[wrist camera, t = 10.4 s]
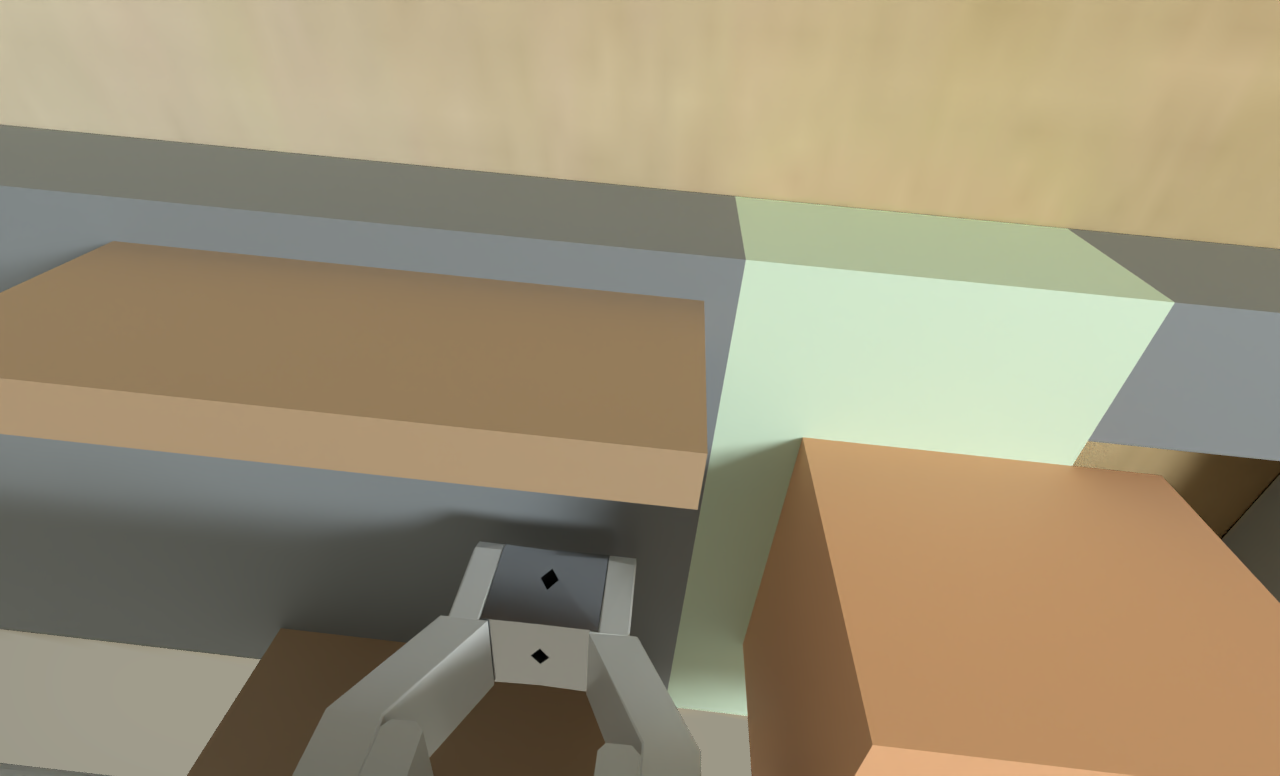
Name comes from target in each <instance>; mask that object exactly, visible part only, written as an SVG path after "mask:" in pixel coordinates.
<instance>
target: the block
mask: <svg viewBox="0 0 1280 776" xmlns="http://www.w3.org/2000/svg"><path fill="white" fill-rule="evenodd" d="M743 654H744V669H745V684H746V699H747V713H748V727H749V742H750V757H751V772H752V776H1280V603H1279V602H1278V601H1277V600H1276V598H1275V597H1274V596H1273V595H1272V594H1271V593H1270V592H1269V591H1268V590H1267V589H1266V588H1265V587H1264V585H1263V584H1262V583H1261V582H1260V581H1259V580H1258V579H1257V578H1256V577H1255V576H1254V575H1253V574H1252V573H1251V571H1250V570H1249V569H1248V568H1247V567H1246V566H1245V565H1244V564H1243V563H1242V562H1241V561H1240V560H1239V558H1238V557H1237V556H1236V555H1235V554H1234V553H1233V552H1232V551H1231V550H1230V549H1229V548H1228V547H1227V546H1226V544H1225V543H1224V542H1223V541H1222V540H1221V539H1220V538H1219V537H1218V536H1217V535H1216V534H1215V533H1214V531H1213V530H1212V529H1211V528H1210V527H1209V526H1208V525H1207V524H1206V523H1205V522H1204V521H1203V520H1202V519H1201V517H1200V516H1199V515H1198V514H1197V513H1196V512H1195V511H1194V510H1193V509H1192V508H1191V507H1190V506H1189V504H1188V503H1187V502H1186V501H1185V500H1184V499H1183V498H1182V497H1181V496H1180V495H1179V494H1178V493H1177V492H1176V490H1175V489H1174V488H1173V487H1172V486H1171V485H1170V484H1169V483H1168V482H1167V481H1166V480H1165V479H1164V477H1163V476H1162V475H1153V474H1144V473H1134V472H1125V471H1115V470H1106V469H1097V468H1087V467H1078V466H1068V465H1059V464H1050V463H1040V462H1031V461H1021V460H1012V459H1002V458H993V457H984V456H974V455H965V454H955V453H946V452H937V451H927V450H918V449H908V448H899V447H890V446H880V445H871V444H861V443H852V442H843V441H833V440H824V439H814V438H805V437H803V438H802V441H801V445H800V448H799V452H798V455H797V459H796V462H795V466H794V469H793V472H792V476H791V479H790V483H789V486H788V490H787V493H786V497H785V500H784V504H783V507H782V510H781V514H780V517H779V521H778V524H777V528H776V531H775V535H774V538H773V542H772V545H771V549H770V552H769V555H768V559H767V562H766V566H765V569H764V573H763V576H762V580H761V583H760V587H759V590H758V594H757V597H756V600H755V604H754V607H753V611H752V614H751V618H750V621H749V625H748V628H747V632H746V635H745V639H744V642H743Z"/></svg>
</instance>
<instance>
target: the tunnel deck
mask: <svg viewBox="0 0 1280 776" xmlns="http://www.w3.org/2000/svg"><path fill="white" fill-rule="evenodd" d="M803 437H805V438H814V439H824V440H833V441H843V442H852V443H861V444H871V445H880V446H890V447H899V448H908V449H918V450H927V451H937V452H946V453H955V454H965V455H974V456H984V457H993V458H1002V459H1012V460H1021V461H1031V462H1040V463H1050V464H1059V465H1068V466H1072V465H1073V463H1074V462H1075V460H1076V459H1077V457H1078V455H1079V454H1080V452H1081V451H1082V449H1083V448H1084V446H1085V444H1086V443H1087V441H1093V442H1102V443H1112V444H1121V445H1131V446H1141V447H1150V448H1160V449H1169V450H1179V451H1188V452H1198V453H1207V454H1217V455H1226V456H1236V457H1245V458H1255V459H1264V460H1274V461H1280V249H1273V248H1262V247H1252V246H1242V245H1232V244H1221V243H1211V242H1201V241H1190V240H1180V239H1170V238H1160V237H1149V236H1139V235H1129V234H1118V233H1108V232H1098V231H1088V230H1077V229H1067V228H1057V227H1046V226H1036V225H1026V224H1016V223H1005V222H995V221H985V220H974V219H964V218H954V217H944V216H933V215H923V214H913V213H902V212H892V211H882V210H872V209H861V208H851V207H841V206H830V205H820V204H810V203H800V202H789V201H779V200H769V199H758V198H748V197H738V196H728V195H717V194H707V193H697V192H686V191H676V190H666V189H656V188H645V187H635V186H625V185H614V184H604V183H594V182H583V181H573V180H563V179H553V178H542V177H532V176H522V175H511V174H501V173H491V172H481V171H470V170H460V169H450V168H439V167H429V166H419V165H409V164H398V163H388V162H378V161H367V160H357V159H347V158H337V157H326V156H316V155H306V154H295V153H285V152H275V151H265V150H254V149H244V148H234V147H223V146H213V145H203V144H193V143H182V142H172V141H162V140H151V139H141V138H131V137H121V136H110V135H100V134H90V133H79V132H69V131H59V130H49V129H38V128H28V127H18V126H7V125H0V629H5V630H14V631H22V632H31V633H40V634H48V635H57V636H65V637H74V638H83V639H91V640H100V641H108V642H117V643H126V644H134V645H143V646H151V647H160V648H168V649H177V650H186V651H194V652H203V653H211V654H220V655H229V656H237V657H246V658H254V659H261V660H260V661H259V663H258V665H257V666H256V668H255V669H254V671H253V672H252V674H251V676H250V677H249V679H248V681H247V682H246V684H245V685H244V687H243V688H242V690H241V691H240V693H239V695H238V696H237V698H236V699H235V701H234V702H233V704H232V705H231V707H230V709H229V710H228V712H227V713H226V715H225V716H224V718H223V720H222V721H221V723H220V724H219V726H218V727H217V729H216V731H215V732H214V734H213V736H212V737H211V738H210V740H209V742H208V743H207V745H206V746H205V748H204V749H203V751H202V753H201V754H200V756H199V757H198V759H197V760H196V762H195V764H194V765H193V767H192V768H191V770H190V771H189V773H188V775H187V776H292V775H293V773H294V771H295V769H296V767H297V765H298V763H299V761H300V759H301V757H302V755H303V753H304V751H305V749H306V747H307V745H308V743H309V741H310V739H311V737H312V735H313V733H314V731H315V729H316V727H317V725H318V723H319V721H320V719H321V718H322V716H323V714H324V712H325V710H326V708H327V707H329V706H330V705H331V704H332V703H333V702H335V701H336V700H337V699H338V698H340V697H341V696H342V695H343V694H344V693H346V692H347V691H348V690H349V689H351V688H352V687H353V686H354V685H356V684H357V683H358V682H359V681H360V680H362V679H363V678H364V677H365V676H367V675H368V674H369V673H370V672H372V671H373V670H374V669H375V668H376V667H378V666H379V665H380V664H381V663H383V662H384V661H385V660H386V659H387V658H389V657H390V656H391V655H392V654H394V653H395V652H396V651H397V650H399V649H400V648H401V647H402V646H403V645H405V644H406V643H407V642H408V641H410V640H411V639H412V638H413V637H414V636H416V635H417V634H418V633H419V632H421V631H422V630H423V629H424V628H426V627H427V626H428V625H429V624H430V623H432V622H433V621H434V620H435V619H437V618H438V617H439V616H440V615H442V616H449V613H450V610H451V608H452V605H453V603H454V600H455V597H456V595H457V592H458V590H459V587H460V584H461V582H462V579H463V577H464V574H465V571H466V569H467V566H468V563H469V561H470V558H471V556H472V553H473V550H474V548H475V547H476V545H477V544H478V543H479V541H481V542H490V543H498V544H507V545H515V546H522V547H530V548H537V549H545V550H552V551H558V550H560V551H571V552H582V553H592V554H603V555H609V558H610V556H618V557H627V558H636V574H635V584H634V595H633V605H632V616H631V627H630V636H635V637H638V639H639V640H640V642H641V644H642V646H643V648H644V649H645V651H646V653H647V655H648V657H649V659H650V660H651V662H652V664H653V666H654V668H655V669H656V671H657V673H658V675H659V677H660V678H661V680H662V682H663V684H664V686H665V687H666V689H667V691H668V693H669V695H670V697H671V698H672V700H673V702H674V704H675V706H676V707H677V708H684V709H693V710H701V711H710V712H719V713H727V714H736V715H744V716H748V713H747V699H746V684H745V669H744V654H743V642H744V639H745V635H746V632H747V628H748V625H749V621H750V618H751V614H752V611H753V607H754V604H755V600H756V597H757V594H758V590H759V587H760V583H761V580H762V576H763V573H764V569H765V566H766V562H767V559H768V555H769V552H770V549H771V545H772V542H773V538H774V535H775V531H776V528H777V524H778V521H779V517H780V514H781V510H782V507H783V504H784V500H785V497H786V493H787V490H788V486H789V483H790V479H791V476H792V472H793V469H794V466H795V462H796V459H797V455H798V452H799V448H800V445H801V441H802V438H803ZM1221 540H1222V541H1223V542H1224V543H1225V544H1226V546H1227V547H1228V548H1229V549H1230V550H1231V551H1232V552H1233V553H1234V554H1235V555H1236V556H1237V557H1238V558H1239V560H1240V561H1241V562H1242V563H1243V564H1244V565H1245V566H1246V567H1247V568H1248V569H1249V570H1250V571H1251V573H1252V574H1253V575H1254V576H1255V577H1256V578H1257V579H1258V580H1259V581H1260V582H1261V583H1262V584H1263V585H1264V587H1265V588H1266V589H1267V590H1268V591H1269V592H1270V593H1271V594H1272V595H1273V596H1274V597H1275V598H1276V600H1277V601H1278V602H1279V603H1280V475H1279V476H1278V477H1277V478H1276V479H1275V480H1274V481H1273V483H1272V484H1271V485H1270V486H1269V487H1268V488H1267V489H1266V490H1265V491H1264V493H1263V494H1262V495H1261V496H1260V497H1259V498H1258V499H1257V500H1256V501H1255V503H1254V504H1253V505H1252V506H1251V507H1250V508H1249V509H1248V510H1247V512H1246V513H1245V514H1244V515H1243V516H1242V517H1241V518H1240V519H1239V520H1238V522H1237V523H1236V524H1235V525H1234V526H1233V527H1232V528H1231V529H1230V530H1229V532H1228V533H1227V534H1226V535H1225V536H1224V537H1223V538H1222V539H1221ZM604 744H605V741H604V738H603V736H602V733H601V730H600V728H599V725H598V723H597V720H596V718H595V715H594V712H593V710H592V707H591V705H590V702H589V700H588V697H587V695H586V691H579V690H572V689H564V688H557V687H550V686H543V685H532V684H520V683H508V682H495V681H494V686H493V687H492V688H491V689H490V690H489V691H488V692H487V693H486V695H485V696H484V697H483V698H482V699H481V700H480V701H479V702H478V704H477V705H476V706H475V707H474V708H473V709H472V710H471V711H470V713H469V714H468V715H467V716H466V717H465V718H464V719H463V720H462V722H461V723H460V724H459V725H458V726H457V727H456V728H455V730H454V731H453V732H452V733H451V734H450V735H449V736H448V737H447V739H446V740H445V741H444V742H443V743H442V744H441V745H440V746H439V748H438V749H437V750H436V751H435V752H434V753H433V754H432V755H431V757H430V758H429V759H430V763H431V767H432V771H433V775H434V776H594V772H595V765H596V758H597V751H598V750H599V749H600V748H601V747H602V746H603V745H604Z"/></svg>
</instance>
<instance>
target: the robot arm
mask: <svg viewBox="0 0 1280 776" xmlns="http://www.w3.org/2000/svg"><path fill="white" fill-rule="evenodd" d="M635 574H636V558H627V557H618V556H610V558H609V555H603V554H592V553H582V552H571V551H560V550H558V551H552V550H545V549H537V548H530V547H522V546H515V545H507V544H498V543H490V542H481V541H479V543H478V544H477V545H476V547H475V548H474V550H473V553H472V556H471V558H470V561H469V563H468V566H467V569H466V571H465V574H464V577H463V579H462V582H461V584H460V587H459V590H458V592H457V595H456V597H455V600H454V603H453V605H452V608H451V610H450V613H449V616H442V615H440V616H439V617H438V618H437V619H435V620H434V621H433V622H432V623H430V624H429V625H428V626H427V627H426V628H424V629H423V630H422V631H421V632H419V633H418V634H417V635H416V636H414V637H413V638H412V639H411V640H410V641H408V642H407V643H406V644H405V645H403V646H402V647H401V648H400V649H399V650H397V651H396V652H395V653H394V654H392V655H391V656H390V657H389V658H387V659H386V660H385V661H384V662H383V663H381V664H380V665H379V666H378V667H376V668H375V669H374V670H373V671H372V672H370V673H369V674H368V675H367V676H365V677H364V678H363V679H362V680H360V681H359V682H358V683H357V684H356V685H354V686H353V687H352V688H351V689H349V690H348V691H347V692H346V693H344V694H343V695H342V696H341V697H340V698H338V699H337V700H336V701H335V702H333V703H332V704H331V705H330V706H329V707H327V708H326V710H325V712H324V714H323V716H322V718H321V719H320V721H319V723H318V725H317V727H316V729H315V731H314V733H313V735H312V737H311V739H310V741H309V743H308V745H307V747H306V749H305V751H304V753H303V755H302V757H301V759H300V761H299V763H298V765H297V767H296V769H295V771H294V773H293V775H292V776H434V775H433V771H432V767H431V763H430V759H429V758H430V757H431V755H432V754H433V753H434V752H435V751H436V750H437V749H438V748H439V746H440V745H441V744H442V743H443V742H444V741H445V740H446V739H447V737H448V736H449V735H450V734H451V733H452V732H453V731H454V730H455V728H456V727H457V726H458V725H459V724H460V723H461V722H462V720H463V719H464V718H465V717H466V716H467V715H468V714H469V713H470V711H471V710H472V709H473V708H474V707H475V706H476V705H477V704H478V702H479V701H480V700H481V699H482V698H483V697H484V696H485V695H486V693H487V692H488V691H489V690H490V689H491V688H492V687H493V686H494V681H495V682H508V683H520V684H532V685H543V686H550V687H557V688H564V689H572V690H579V691H586V695H587V697H588V700H589V702H590V705H591V707H592V710H593V712H594V715H595V718H596V720H597V723H598V725H599V728H600V730H601V733H602V736H603V738H604V741H605V744H604V745H603V746H602V747H601V748H600V749H599V750H598V751H597V758H596V765H595V772H594V776H701V751H700V749H699V747H698V746H697V744H696V742H695V740H694V738H693V736H692V735H691V733H690V731H689V729H688V728H687V725H686V724H685V722H684V720H683V718H682V716H681V715H680V713H679V711H678V709H677V707H676V706H675V704H674V702H673V700H672V698H671V697H670V695H669V693H668V691H667V689H666V687H665V686H664V684H663V682H662V680H661V678H660V677H659V675H658V673H657V671H656V669H655V668H654V666H653V664H652V662H651V660H650V659H649V657H648V655H647V653H646V651H645V649H644V648H643V646H642V644H641V642H640V640H639V639H638V637H635V636H630V627H631V616H632V605H633V595H634V584H635ZM0 776H110V775H100V774H92V773H83V772H75V771H66V770H57V769H48V768H40V767H30V766H22V765H13V764H4V763H0Z"/></svg>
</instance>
